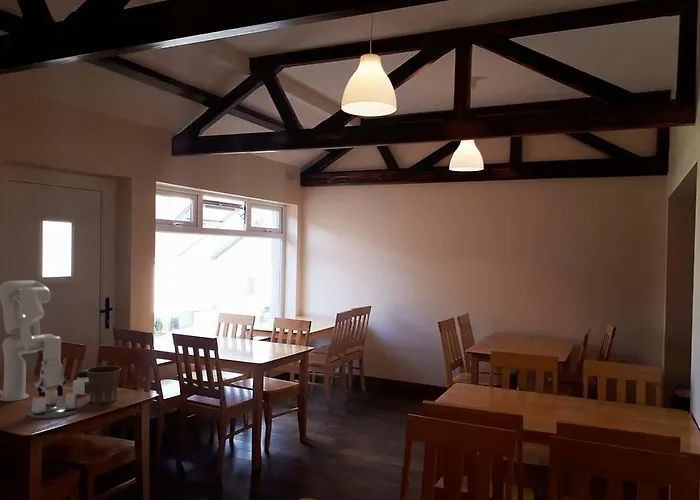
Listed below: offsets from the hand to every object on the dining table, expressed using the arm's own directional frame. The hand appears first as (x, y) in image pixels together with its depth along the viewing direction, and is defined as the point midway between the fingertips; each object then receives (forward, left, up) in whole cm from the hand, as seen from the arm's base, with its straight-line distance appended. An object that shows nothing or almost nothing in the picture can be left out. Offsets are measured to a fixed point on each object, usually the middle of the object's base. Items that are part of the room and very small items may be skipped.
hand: (50, 397), depth 272 cm
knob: (0, -14, -4) cm, 14 cm away
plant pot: (+20, +14, -6) cm, 25 cm away
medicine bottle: (+5, +30, -6) cm, 31 cm away
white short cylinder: (+12, -7, -4) cm, 14 cm away
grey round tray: (+4, -7, -5) cm, 9 cm away
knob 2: (0, 0, -4) cm, 4 cm away
